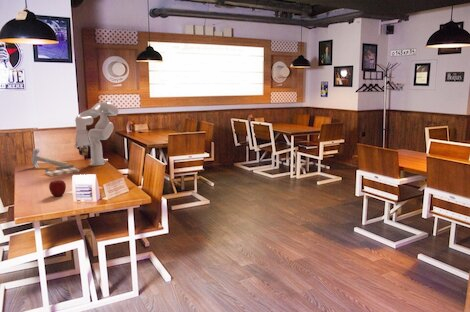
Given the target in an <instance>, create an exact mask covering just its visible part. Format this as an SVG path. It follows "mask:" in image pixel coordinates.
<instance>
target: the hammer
mask: <svg viewBox="0 0 470 312" xmlns="http://www.w3.org/2000/svg"><path fill="white" fill-rule="evenodd" d="M39 153H40V149H39V148H33V149H32V154H31V163H32V165H33V166H34V167H35V169H37V168H39V167H40V166H39V164H38V162H43V163H46V164H49V165H53V166H57V167H62V166H68V162H66V161H62V160H57V159H53V158H49V157H44V156H41V155H40V154H39Z"/></svg>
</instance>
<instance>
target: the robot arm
mask: <svg viewBox="0 0 470 312" xmlns="http://www.w3.org/2000/svg"><path fill="white" fill-rule="evenodd" d="M118 114H119V108H118V107H117V106H116V105H115V104H113V103H111V102H107V101H106V102H105V101H101V102H97V103H95V105H93V106H92V107H91V108H90V109H87V110H84V111H82V112H80V113H79V114H78V115H76V117H75V120H74V121H75V129H76V130H75V131H76V134H75V138H74V139H75V140H74V141H75V143H74V144H75V145H74V146H73V147H74V148H76V149H77V150H78V153H79V155H80V156H83V155H82V150H81V147H86V148H87V149H88V150H89V148H90V160H91V162H90V163H89V166H94V167H95V166H103V165H105V164H106V162H108V161H109V159H108V158H104V157H103V145H102V142H101V141H106V140H108V139H109V138H110V136H111V134H112V133H113V131H114V129H115V127H114V123H113V122H111V121H110V120H109V119H110V118H109V117H110V116H117V115H118ZM108 116H109V117H108ZM98 117H100V118H99V120H98V121H97V123H96V124H95V125H94V128H91V129H89V130H87V126H90V125H91V126H92V125H93V124H94V119H95V118H98Z"/></svg>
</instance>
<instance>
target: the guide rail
mask: <svg viewBox="0 0 470 312" xmlns="http://www.w3.org/2000/svg"><path fill="white" fill-rule="evenodd" d="M73 167H74V164H71V165H69V164H68V165H67V166H62V167H61V166H57V167H56V166H55V167H50V168H45V169H44V172H47V171H54V170H60V169H67V168H73ZM74 168H75V167H74Z"/></svg>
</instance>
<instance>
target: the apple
mask: <svg viewBox="0 0 470 312" xmlns="http://www.w3.org/2000/svg"><path fill="white" fill-rule="evenodd" d="M48 189H49V191H50V194H51V195H52V196H53V197H60V196H64V194H65V193H66V189H67V186H66V182H65V181H63V180H53V181H50V182H49V185H48Z"/></svg>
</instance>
